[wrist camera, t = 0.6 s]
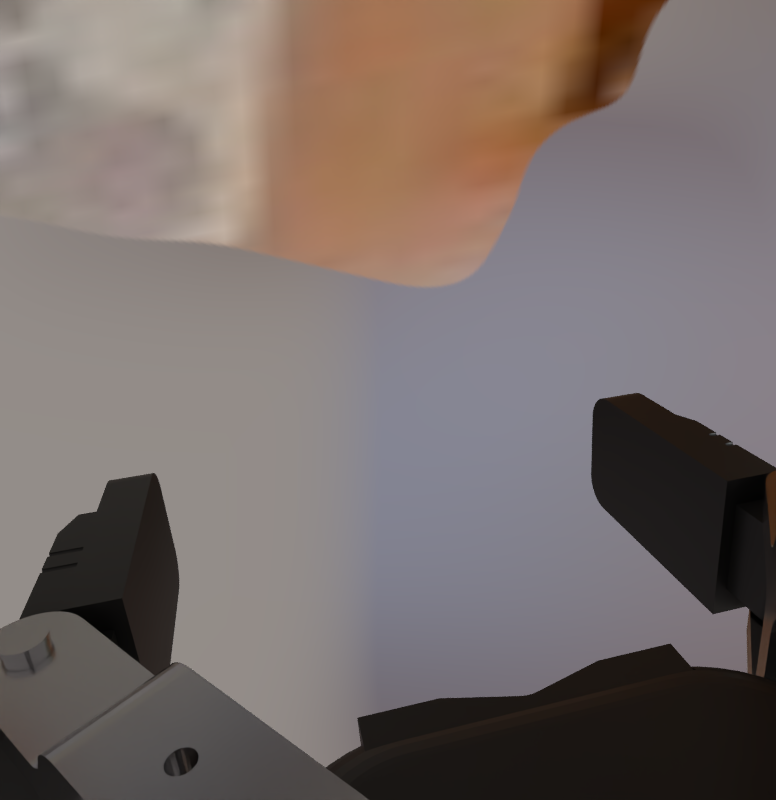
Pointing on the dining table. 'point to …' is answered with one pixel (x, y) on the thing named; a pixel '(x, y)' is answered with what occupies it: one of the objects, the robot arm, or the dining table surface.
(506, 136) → the dining table surface
